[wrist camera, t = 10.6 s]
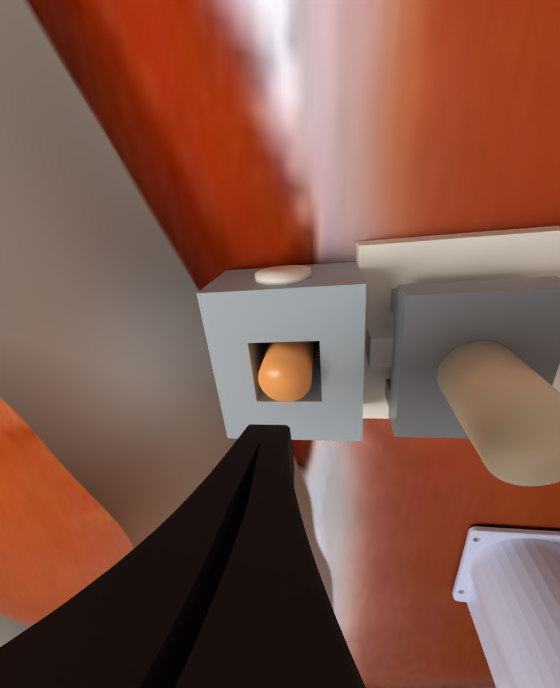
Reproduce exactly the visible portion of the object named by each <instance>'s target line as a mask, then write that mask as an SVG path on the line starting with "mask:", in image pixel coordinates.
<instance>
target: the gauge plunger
mask: <svg viewBox="0 0 560 688" xmlns="http://www.w3.org/2000/svg"><path fill="white" fill-rule="evenodd" d="M313 354H314V342H313V341H300V342H270V343H269V346H268V349H267V351H266V354H265V357H264V359H263V362H262V365H261V367H260V370H259V374H258V381H259V385H260V387H261V389H262V390H263V392H264V393H265V394H266V395H268V396H269V397H270V398H272V399H274V400H277V401H281V402H293V401H296V400H299V399H301V398H302V397H304V396H305V395H306V394H307V393H308V391H309V389H310V387H311V382H312V368H313Z"/></svg>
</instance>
